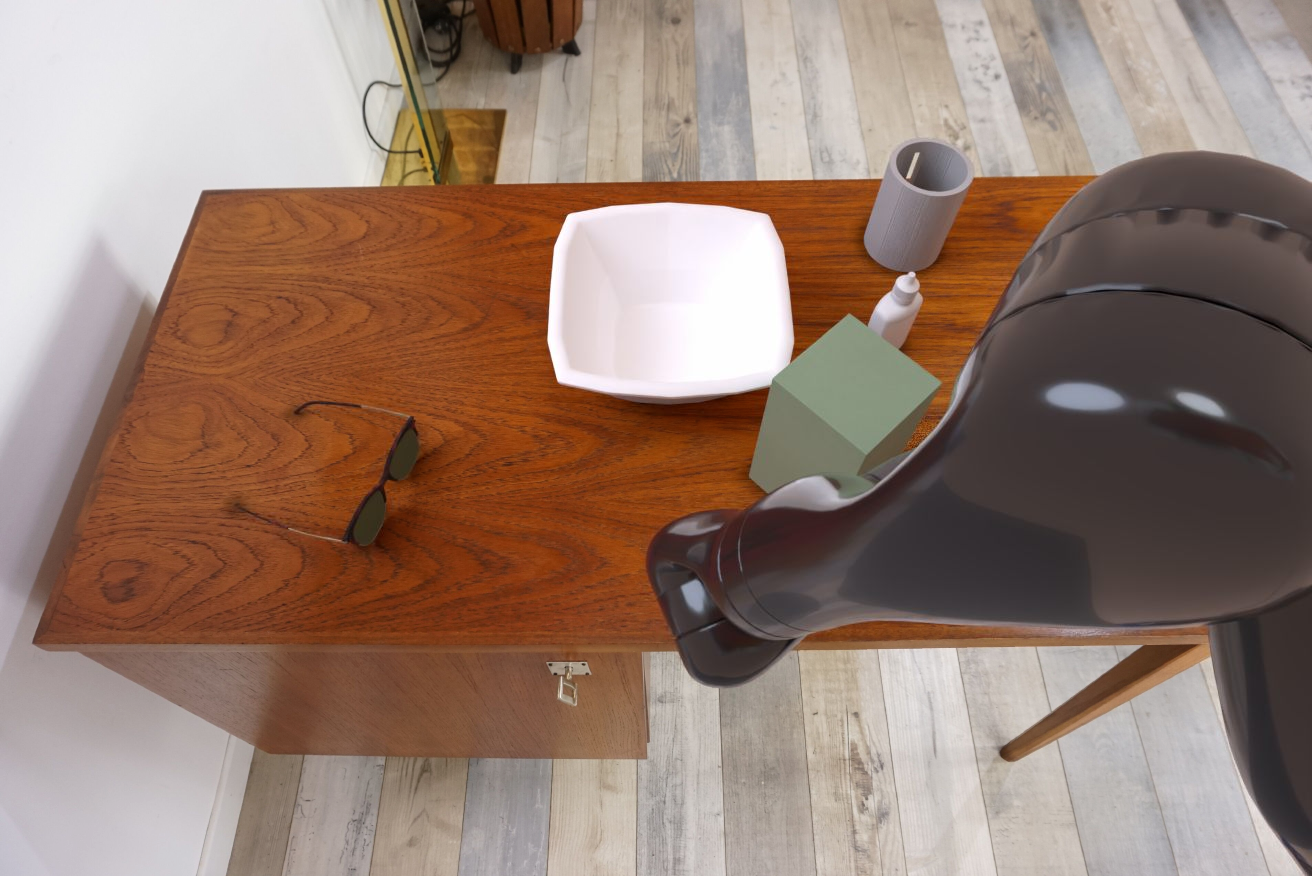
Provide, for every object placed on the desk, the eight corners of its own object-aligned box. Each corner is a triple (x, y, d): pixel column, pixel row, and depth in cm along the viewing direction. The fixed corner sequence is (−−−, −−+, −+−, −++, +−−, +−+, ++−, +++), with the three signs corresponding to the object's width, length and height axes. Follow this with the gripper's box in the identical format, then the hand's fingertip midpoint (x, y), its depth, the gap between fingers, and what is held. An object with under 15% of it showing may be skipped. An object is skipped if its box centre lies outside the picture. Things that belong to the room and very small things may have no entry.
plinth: (886, 480, 83) (942, 382, 67) (822, 542, 79) (866, 455, 64) (812, 419, 86) (849, 312, 71) (748, 476, 83) (772, 378, 67)
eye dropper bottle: (910, 359, 90) (945, 289, 80) (861, 364, 90) (890, 293, 79) (900, 328, 92) (933, 255, 82) (852, 332, 92) (879, 260, 82)
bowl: (553, 449, 84) (542, 395, 75) (564, 265, 96) (556, 200, 88) (785, 448, 84) (802, 395, 76) (767, 265, 97) (779, 201, 88)
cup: (898, 283, 96) (930, 208, 85) (848, 235, 99) (872, 157, 89) (954, 251, 98) (991, 175, 88) (903, 206, 102) (933, 127, 92)
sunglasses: (363, 562, 78) (342, 541, 73) (233, 524, 81) (206, 501, 76) (428, 439, 84) (413, 413, 80) (306, 407, 88) (285, 381, 83)
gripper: (1035, 573, 46) (1253, 472, 49) (901, 383, 53) (1101, 305, 56) (988, 614, 53) (1183, 523, 56) (873, 440, 59) (1054, 368, 63)
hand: (1142, 414), depth 56 cm, fingers open, 8 cm apart
